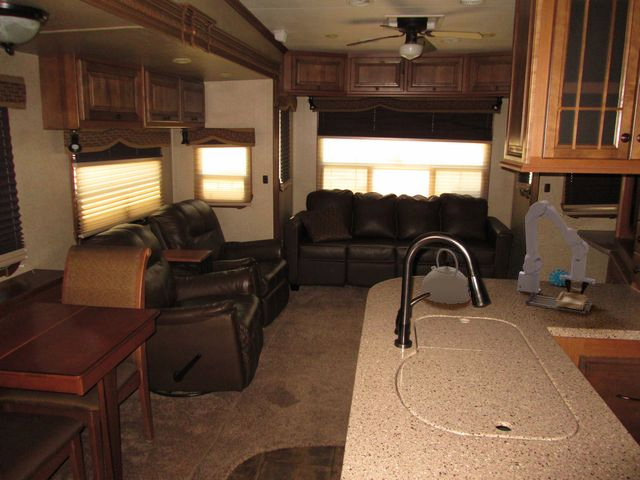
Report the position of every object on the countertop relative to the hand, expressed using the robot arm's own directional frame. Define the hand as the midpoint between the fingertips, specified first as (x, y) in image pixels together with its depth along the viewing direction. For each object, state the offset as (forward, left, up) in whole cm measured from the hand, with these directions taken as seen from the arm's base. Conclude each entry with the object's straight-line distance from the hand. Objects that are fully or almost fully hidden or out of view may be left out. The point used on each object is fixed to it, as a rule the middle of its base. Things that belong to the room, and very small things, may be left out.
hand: (575, 296), depth 238 cm
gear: (-10, +22, -2) cm, 24 cm away
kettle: (-53, -28, -2) cm, 59 cm away
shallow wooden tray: (0, -12, 0) cm, 12 cm away
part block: (0, 0, -1) cm, 1 cm away
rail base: (-5, -12, -1) cm, 13 cm away
